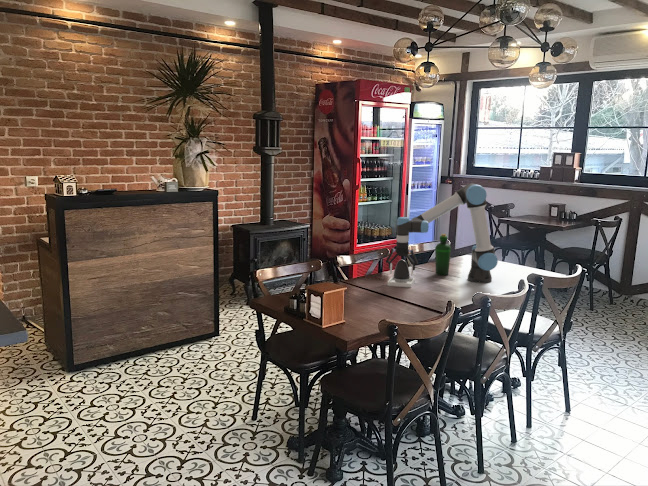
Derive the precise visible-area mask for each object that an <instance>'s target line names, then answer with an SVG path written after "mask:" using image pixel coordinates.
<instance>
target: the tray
mask: <svg viewBox="0 0 648 486" xmlns="http://www.w3.org/2000/svg"><path fill="white" fill-rule="evenodd" d="M415 281H416V278H415V277H410V278H409V280H408V282H407V283H398V282H395V280H394V275H393V276H392V275H391V277H390V278H389V280H387V285H386V286H387V287H395V288H396V287H397V288H407V289H408V288H412V287H413V285H414V284H415Z"/></svg>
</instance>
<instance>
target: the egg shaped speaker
mask: <svg viewBox="0 0 648 486" xmlns="http://www.w3.org/2000/svg"><path fill="white" fill-rule="evenodd" d="M410 274H411V273H410V269H409V265H408V263H407V261H406V260H404V259H399V260H398V261H397V262H396V265H395V268H394V272H393V277H394V280H395V282H398V283H407V282H408V280H409V278H411V275H410Z"/></svg>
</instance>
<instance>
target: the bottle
mask: <svg viewBox="0 0 648 486" xmlns="http://www.w3.org/2000/svg"><path fill="white" fill-rule="evenodd" d="M439 241H440V243H438V244H436V246H435V247H434V248H435V249H434V250H435V251H434V252H435V253H434V254H435V274H436V275H438V276H443V277H444V276H449V271H450V261H451V251H452V247H451V245H450V244H449V243H447V242H448V235H447V234H446V233H441V234H440V236H439Z"/></svg>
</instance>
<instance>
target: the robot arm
mask: <svg viewBox="0 0 648 486" xmlns="http://www.w3.org/2000/svg"><path fill="white" fill-rule="evenodd" d="M487 196H488V194H487V190H486V189H485V187H483V185H480V184H476V183H468V184H466V185H464V186H462V187H461V188H460V189H458V190H457V191H455V192H454V194H453V195H451V196H450V197H448V198H446V199H445V200H442V201H440V202H439V203H438V204H436V205H434V206H433V207H431V208H429V209H428V210H425V211H423V212H422V213H421V214H419V215H417V216H414V217H412V218H411V219H410V217H407V216H400V217H397V220H396V221H397V222H396V244H395V245H396V248H391V249H390V253H389V255H388V256H387V259H386V260H385V263H386V264H388V269H389V275H392V274H393V262H394V260H395V259H396V258H398V256H399V257H406V258H407V259H408V261H409V262H410V264H411V271H410V272H411V273H410V274H411V275H410V277H411V276H413V275H414V271H415V270H416V266H417V265H418V264H419V261H418V259H417V257H416V255H415V253H414V249H409V239H410V237H409V236H410V233H421V234H424V233H428V232H429V223H432V222H434V221H435V220H437V219H438V218H441V216H443V215H446V214H447V213H448V212H450V211H452V210H454V209H456V208H457V207H459V206H461V205H462V206H464V205H465V204H466V208H467V209H468V210H470V217H471V223H472V227H473V228H472V230H473V234H474V238H475V245H473V246H471V247H472V248H471V261H470V263H471V264H470V266H471V267H470V269H469V272H468V275H467V280H468V281H470V282H473V283H480V284H481V283H490V282H492V280H493V279H492V278H493V277H492V273H491V271H492V270H494V269H495V268H496V267H497V266H498V263H499V261H498V257H497V255H496V253H495V252H496V251H495V247H494V246H493V245H492V243H491V238H490V233H489V226H488V220H487V214H486V209H485V208H486V206H487V205H488V204H487ZM393 253H396V254H395V255H394V256H393ZM409 253H410V254H411V256H410V255H409ZM392 256H393V257H392ZM391 257H392V258H391Z"/></svg>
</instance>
